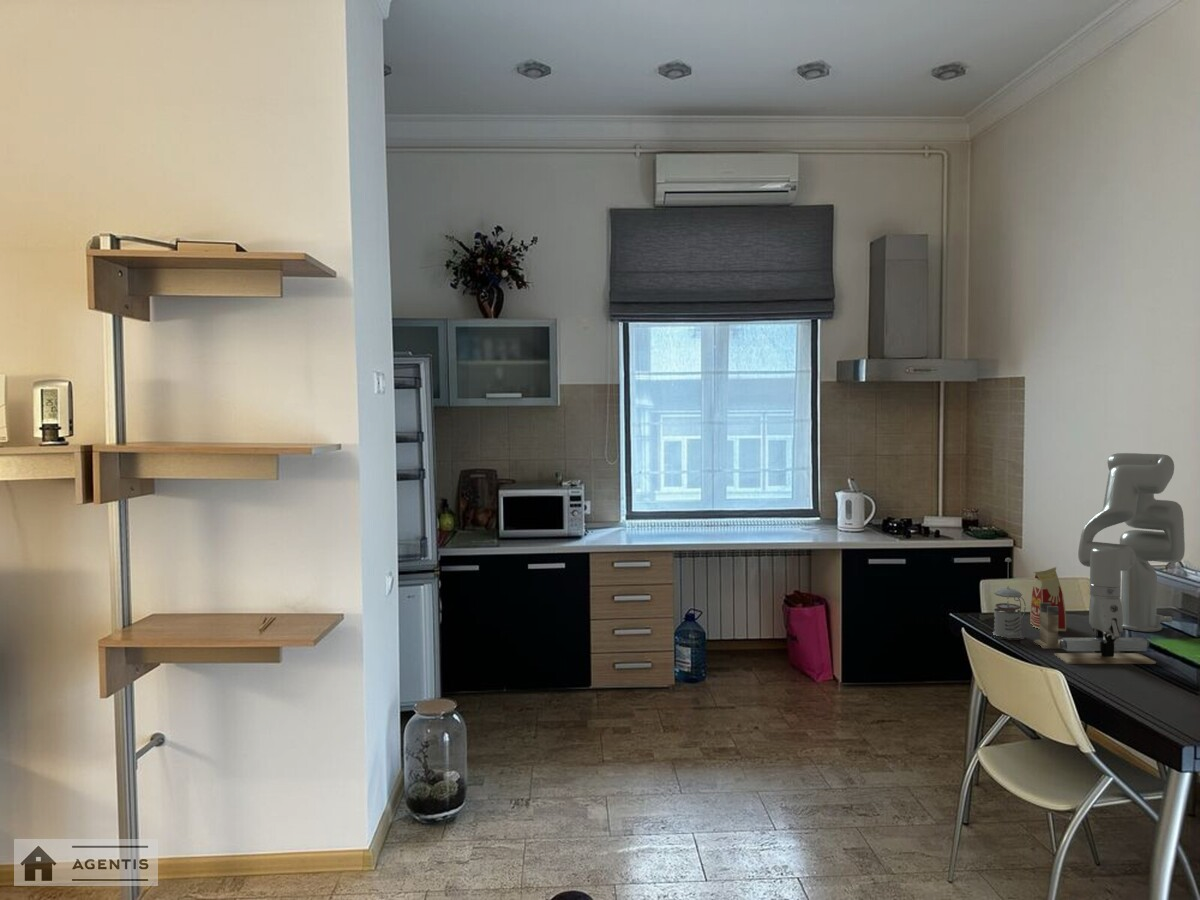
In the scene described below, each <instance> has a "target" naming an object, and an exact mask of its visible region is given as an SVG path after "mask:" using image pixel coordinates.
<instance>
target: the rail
mask: <svg viewBox="0 0 1200 900" xmlns="http://www.w3.org/2000/svg"><path fill="white" fill-rule="evenodd" d="M1059 640H1060V647H1061V648H1060V649H1062V650H1065V651H1066V652H1095V651H1101V650H1102V642H1103V638H1094V637H1062V638H1061V639H1059ZM1149 648H1150V642H1149V640H1147V639H1146V638H1145V639H1144V637H1120V638H1117V639H1116V640H1115V643H1114V652H1147V651H1148V649H1149Z"/></svg>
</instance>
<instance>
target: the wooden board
mask: <svg viewBox="0 0 1200 900" xmlns="http://www.w3.org/2000/svg"><path fill="white" fill-rule="evenodd" d="M1053 654H1054V655H1055V656H1054V655H1053V656H1054V657H1056V656H1057V657H1056V658H1058V659H1059V658H1060V659H1059V660H1061V661H1062V660H1063V662H1064V663H1066V664H1068V665H1069V664H1071V665H1074V664H1075V665H1078V664H1079V665H1080V664H1083V665H1085V664H1086V665H1087V664H1089V665H1090V664H1091V665H1092V664H1093V665H1094V664H1096V665H1097V664H1102V665H1104V664H1105V665H1106V664H1108V665H1109V664H1110V665H1111V664H1113V665H1114V664H1115V665H1118V664H1119V665H1120V664H1123V665H1127V664H1131V665H1133V664H1135V665H1136V664H1137V665H1140V664H1141V665H1142V664H1143V665H1144V664H1145V665H1147V664H1149V665H1152V664H1153V665H1155V664H1156V663H1157V662H1156V661H1155V659H1154V660H1153V659H1151V658H1149V657H1147V656H1145V655H1144V654H1142V653H1140V652H1137V653H1135V652H1130V653H1128V652H1127V653H1125V652H1120V653H1119V652H1117V653H1115V652H1114V656H1113V657H1103V656H1102V655H1101V653H1096V652H1092V653H1091V652H1090V653H1088V652H1085V653H1083V652H1082V653H1081V652H1080V653H1079V652H1076V653H1075V652H1071V653H1070V652H1068V653H1065V652H1064V653H1063V652H1062V653H1061V652H1059V653H1058V652H1056V653H1055V652H1054V653H1053Z"/></svg>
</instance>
